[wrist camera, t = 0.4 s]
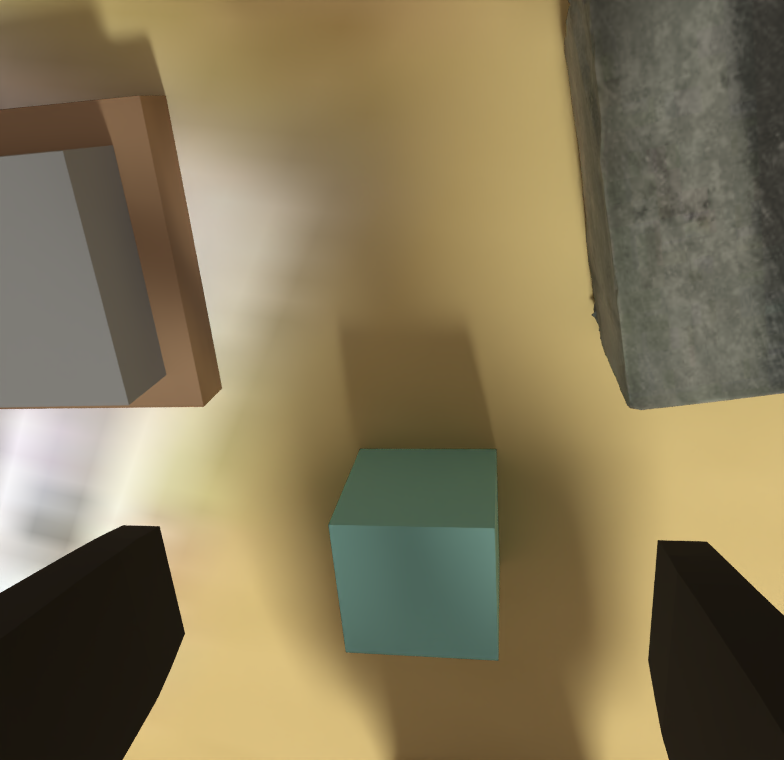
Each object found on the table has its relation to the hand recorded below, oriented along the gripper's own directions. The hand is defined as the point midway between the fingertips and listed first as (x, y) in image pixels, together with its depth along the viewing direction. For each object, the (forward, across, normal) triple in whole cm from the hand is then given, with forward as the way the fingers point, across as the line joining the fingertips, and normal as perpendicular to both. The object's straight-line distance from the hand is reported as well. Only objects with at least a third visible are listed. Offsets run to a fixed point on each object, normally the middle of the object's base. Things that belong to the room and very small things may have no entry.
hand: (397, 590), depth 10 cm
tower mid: (+8, +11, -3) cm, 14 cm away
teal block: (+10, +1, +5) cm, 11 cm away
